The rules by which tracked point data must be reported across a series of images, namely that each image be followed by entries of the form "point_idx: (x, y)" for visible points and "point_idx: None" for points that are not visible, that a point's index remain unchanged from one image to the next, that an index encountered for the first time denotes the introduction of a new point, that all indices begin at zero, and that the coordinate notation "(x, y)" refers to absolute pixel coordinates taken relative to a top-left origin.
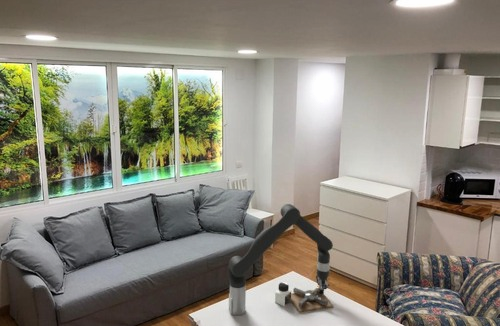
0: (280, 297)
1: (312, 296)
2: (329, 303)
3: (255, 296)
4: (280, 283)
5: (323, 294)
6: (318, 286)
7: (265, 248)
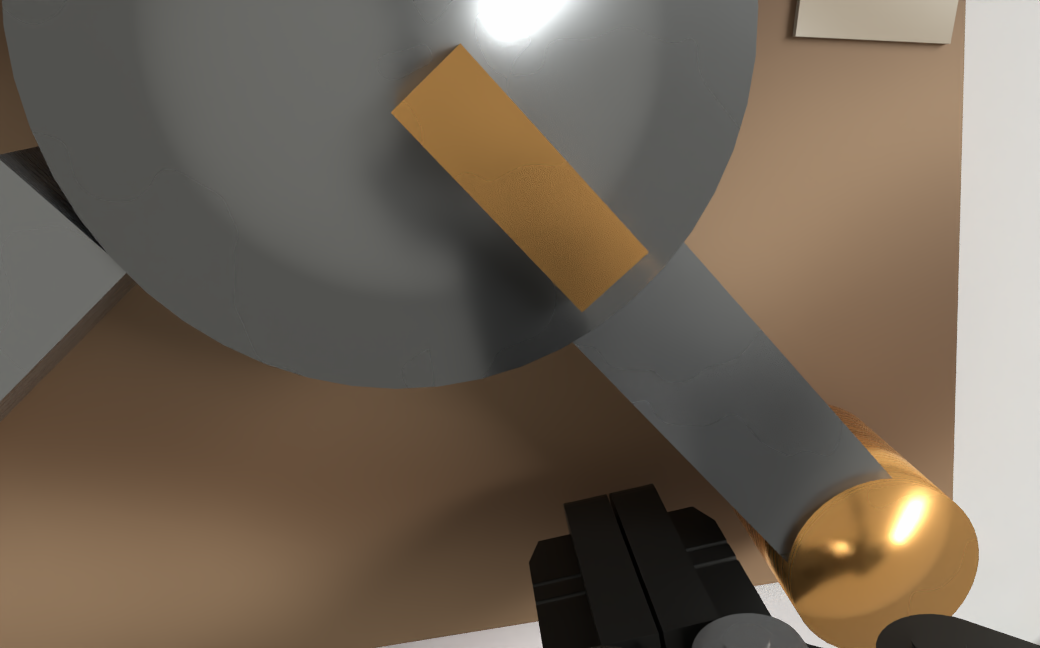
0: None
1: (110, 26)
2: (63, 631)
3: None
4: None
5: None
6: (959, 574)
7: None
